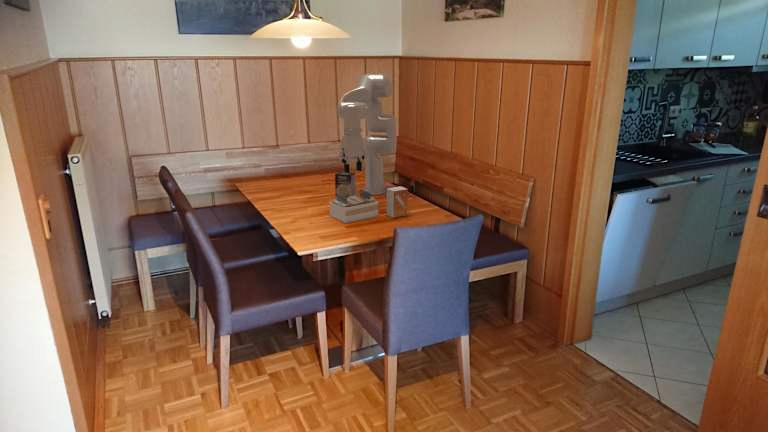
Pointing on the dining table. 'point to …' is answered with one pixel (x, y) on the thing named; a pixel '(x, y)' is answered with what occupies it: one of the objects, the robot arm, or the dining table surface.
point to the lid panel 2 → (363, 197)
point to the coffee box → (345, 184)
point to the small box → (397, 201)
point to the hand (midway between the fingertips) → (353, 171)
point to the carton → (354, 211)
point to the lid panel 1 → (344, 201)
